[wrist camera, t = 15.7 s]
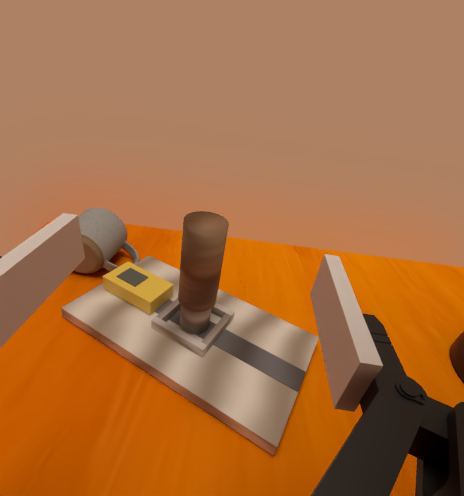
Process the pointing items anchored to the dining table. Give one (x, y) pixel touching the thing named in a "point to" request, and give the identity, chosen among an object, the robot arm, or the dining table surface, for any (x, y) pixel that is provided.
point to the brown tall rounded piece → (200, 268)
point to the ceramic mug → (102, 240)
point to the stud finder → (138, 287)
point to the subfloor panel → (208, 354)
